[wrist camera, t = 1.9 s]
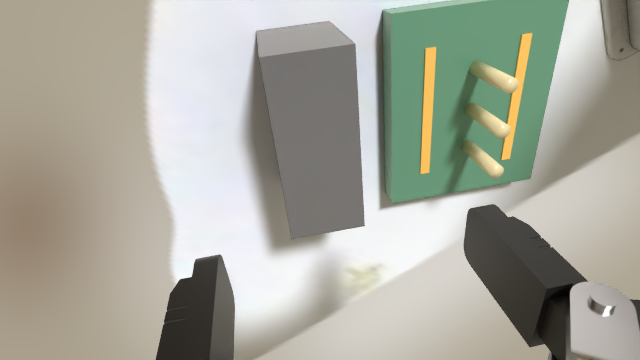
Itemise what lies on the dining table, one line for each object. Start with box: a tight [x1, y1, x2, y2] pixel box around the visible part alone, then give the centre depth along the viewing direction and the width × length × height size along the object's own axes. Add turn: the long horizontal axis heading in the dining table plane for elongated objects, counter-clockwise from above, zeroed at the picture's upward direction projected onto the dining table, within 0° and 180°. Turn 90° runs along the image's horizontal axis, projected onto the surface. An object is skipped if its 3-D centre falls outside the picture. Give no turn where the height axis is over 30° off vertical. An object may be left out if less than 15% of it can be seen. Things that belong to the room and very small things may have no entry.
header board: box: [383, 0, 569, 203], centre depth 23 cm, size 12×10×5 cm
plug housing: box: [256, 21, 365, 239], centre depth 21 cm, size 10×4×6 cm, turn 6°
